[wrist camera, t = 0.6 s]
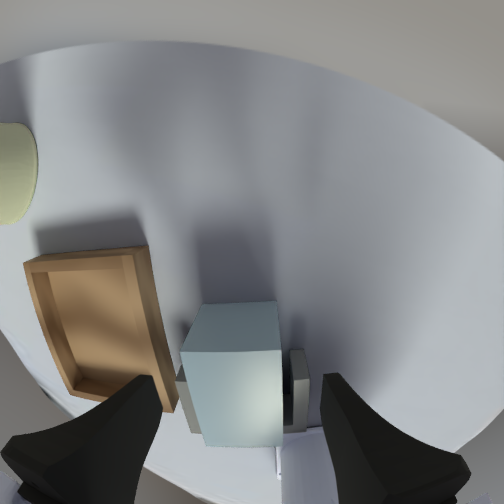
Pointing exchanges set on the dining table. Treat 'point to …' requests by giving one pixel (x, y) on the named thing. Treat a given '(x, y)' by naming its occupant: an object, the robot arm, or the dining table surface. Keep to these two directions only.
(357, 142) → the dining table surface
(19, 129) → the can
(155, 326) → the tray
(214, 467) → the dining table surface
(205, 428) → the pale blue cuboid
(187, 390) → the bay
